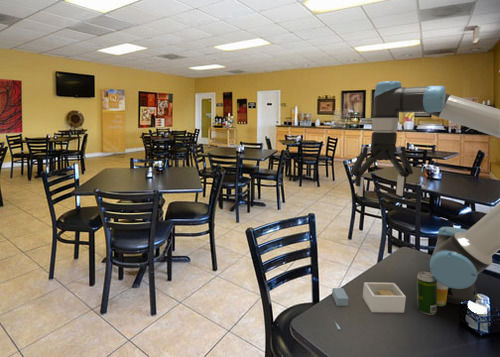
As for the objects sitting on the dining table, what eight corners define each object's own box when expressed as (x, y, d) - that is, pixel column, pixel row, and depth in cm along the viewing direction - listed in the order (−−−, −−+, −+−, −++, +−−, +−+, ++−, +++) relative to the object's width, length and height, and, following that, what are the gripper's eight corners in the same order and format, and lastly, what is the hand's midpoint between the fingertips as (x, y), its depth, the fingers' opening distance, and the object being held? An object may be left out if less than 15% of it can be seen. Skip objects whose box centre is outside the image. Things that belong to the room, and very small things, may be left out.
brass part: (386, 300, 103) (388, 289, 102) (395, 307, 100) (396, 295, 99) (376, 301, 102) (377, 290, 101) (384, 309, 98) (385, 297, 98)
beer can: (440, 312, 97) (440, 275, 96) (429, 317, 95) (429, 280, 94) (424, 305, 102) (424, 269, 101) (413, 309, 100) (413, 274, 98)
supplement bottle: (448, 308, 100) (452, 281, 98) (429, 306, 101) (433, 279, 99) (442, 299, 105) (446, 272, 103) (424, 296, 106) (428, 270, 104)
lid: (367, 331, 90) (368, 320, 89) (337, 331, 90) (338, 320, 89) (349, 297, 106) (350, 288, 105) (324, 297, 106) (325, 287, 105)
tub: (392, 299, 105) (394, 282, 104) (403, 314, 97) (405, 296, 96) (362, 298, 105) (364, 282, 104) (371, 313, 97) (373, 296, 96)
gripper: (415, 130, 105) (409, 191, 109) (342, 131, 104) (339, 193, 108) (429, 131, 98) (422, 197, 102) (350, 132, 97) (347, 199, 101)
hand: (379, 195), depth 105 cm, fingers open, 13 cm apart
